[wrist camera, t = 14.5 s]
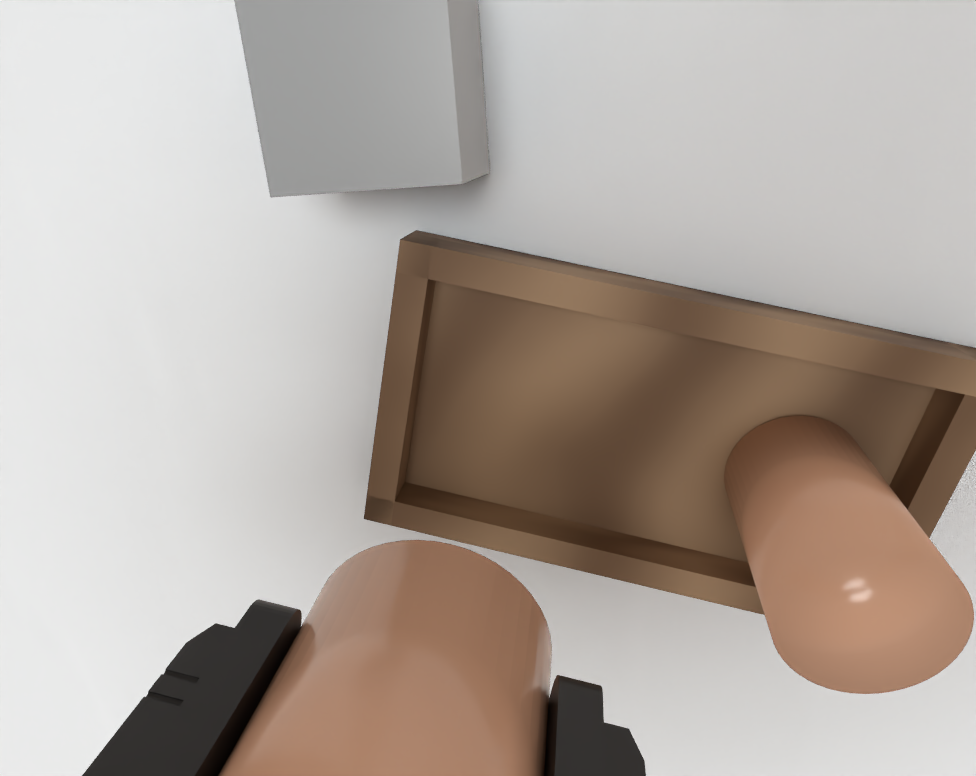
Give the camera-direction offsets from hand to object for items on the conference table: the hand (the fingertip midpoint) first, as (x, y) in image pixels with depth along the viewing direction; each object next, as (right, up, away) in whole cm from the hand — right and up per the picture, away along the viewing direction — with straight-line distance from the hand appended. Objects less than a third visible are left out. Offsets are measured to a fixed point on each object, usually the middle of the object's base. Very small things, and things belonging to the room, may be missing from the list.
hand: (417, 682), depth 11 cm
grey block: (-1, +14, +9) cm, 17 cm away
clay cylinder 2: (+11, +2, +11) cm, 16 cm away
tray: (+7, +4, +12) cm, 14 cm away
